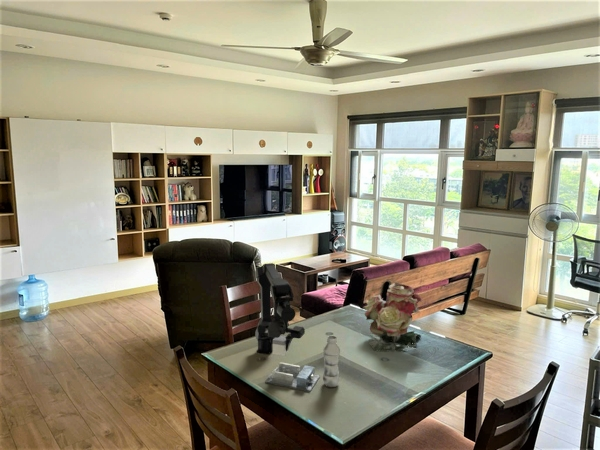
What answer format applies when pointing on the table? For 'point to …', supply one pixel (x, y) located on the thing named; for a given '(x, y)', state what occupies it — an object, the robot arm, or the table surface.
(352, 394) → the table surface
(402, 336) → the rose bouquet
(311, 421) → the table surface
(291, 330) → the robot arm
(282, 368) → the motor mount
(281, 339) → the grey rectangular block
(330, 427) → the table surface
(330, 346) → the plastic bottle
